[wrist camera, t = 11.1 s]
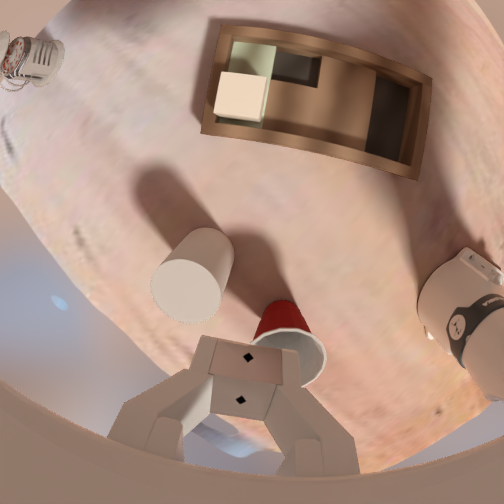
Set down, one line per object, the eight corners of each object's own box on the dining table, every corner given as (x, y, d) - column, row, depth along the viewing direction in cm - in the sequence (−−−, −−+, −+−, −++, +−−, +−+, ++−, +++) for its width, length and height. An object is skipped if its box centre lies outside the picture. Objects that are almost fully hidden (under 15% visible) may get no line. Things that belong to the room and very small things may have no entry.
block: (267, 86, 30) (266, 77, 26) (260, 123, 32) (258, 118, 28) (228, 81, 30) (221, 71, 26) (221, 117, 32) (213, 112, 28)
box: (417, 83, 29) (432, 78, 25) (403, 176, 35) (417, 180, 31) (227, 37, 30) (221, 24, 25) (208, 135, 35) (200, 133, 31)
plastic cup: (330, 308, 43) (345, 357, 32) (287, 349, 47) (289, 401, 35) (277, 270, 41) (278, 316, 30) (235, 318, 45) (225, 369, 34)
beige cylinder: (175, 267, 42) (145, 308, 31) (189, 219, 39) (158, 248, 28) (224, 285, 43) (209, 333, 32) (242, 239, 40) (230, 275, 29)
